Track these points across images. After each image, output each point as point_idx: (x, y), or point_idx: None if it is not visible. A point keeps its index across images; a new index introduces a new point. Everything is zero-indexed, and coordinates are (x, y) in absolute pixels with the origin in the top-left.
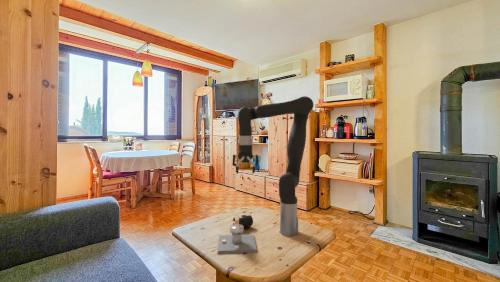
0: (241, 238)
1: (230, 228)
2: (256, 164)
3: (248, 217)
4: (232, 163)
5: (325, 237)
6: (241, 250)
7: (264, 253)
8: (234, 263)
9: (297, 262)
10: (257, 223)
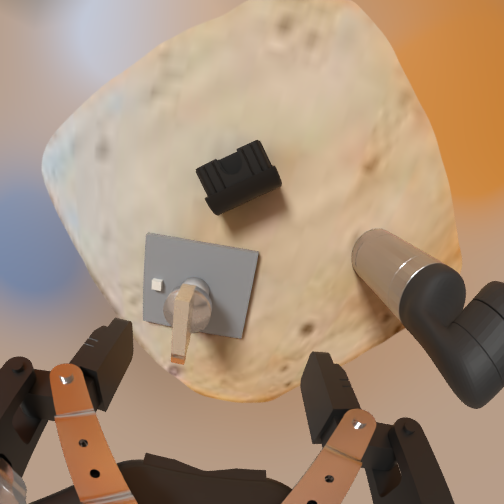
0: None
1: (164, 316)
2: (366, 465)
3: (262, 183)
4: (3, 373)
5: None
6: (202, 331)
7: (258, 343)
8: None
9: None
10: (307, 149)
